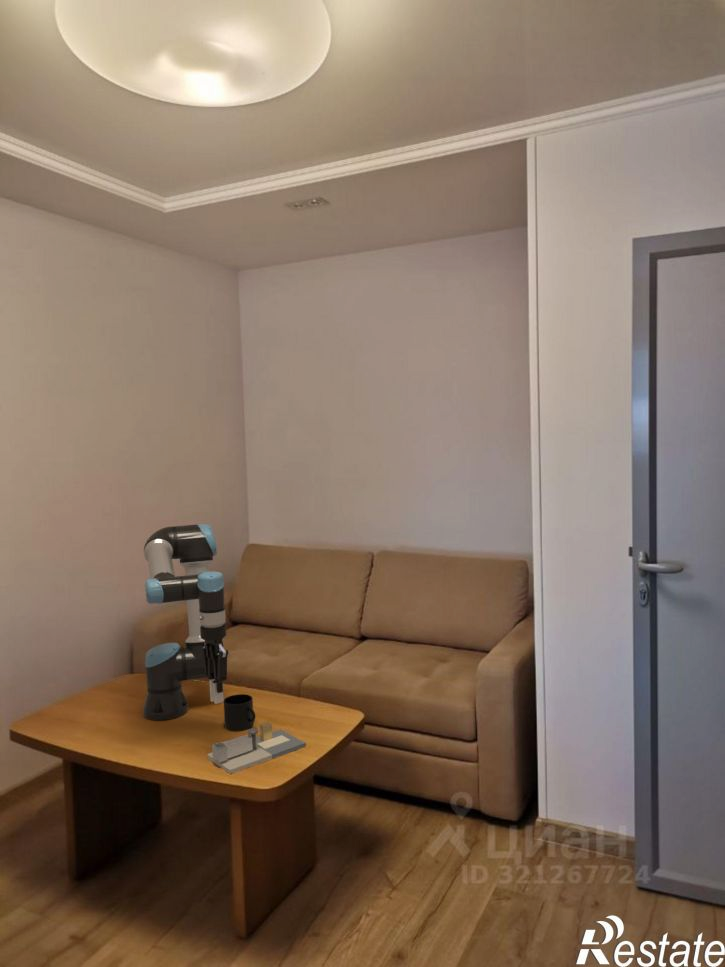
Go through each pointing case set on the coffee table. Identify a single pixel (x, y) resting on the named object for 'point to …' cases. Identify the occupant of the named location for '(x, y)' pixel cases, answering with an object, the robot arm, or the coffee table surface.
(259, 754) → the door board
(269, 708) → the coffee table surface
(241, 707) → the mug
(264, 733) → the block
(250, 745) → the bar
